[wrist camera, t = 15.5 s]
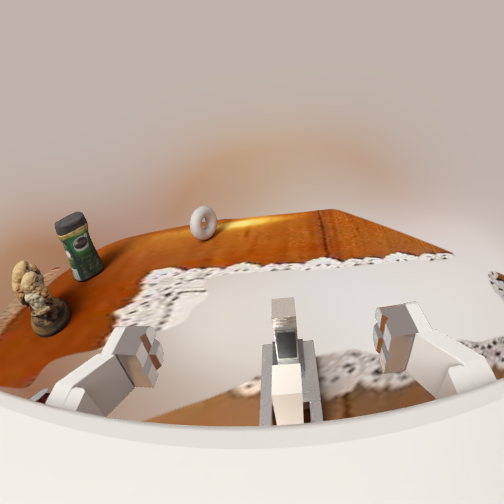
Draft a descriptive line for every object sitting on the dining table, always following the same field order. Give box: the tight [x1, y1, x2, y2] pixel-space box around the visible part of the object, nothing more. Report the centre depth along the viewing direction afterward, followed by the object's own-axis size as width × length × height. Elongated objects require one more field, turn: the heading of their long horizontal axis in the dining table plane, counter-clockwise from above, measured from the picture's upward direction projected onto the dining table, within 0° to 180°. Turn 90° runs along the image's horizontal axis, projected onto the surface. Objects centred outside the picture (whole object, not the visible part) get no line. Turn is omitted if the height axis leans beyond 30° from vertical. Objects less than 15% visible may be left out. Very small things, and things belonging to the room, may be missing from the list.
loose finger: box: [271, 363, 304, 425], centre depth 33 cm, size 5×3×12 cm, turn 177°
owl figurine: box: [12, 261, 70, 337], centre depth 61 cm, size 18×12×17 cm, turn 47°
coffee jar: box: [55, 212, 104, 281], centre depth 79 cm, size 10×8×19 cm
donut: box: [190, 206, 217, 240], centre depth 90 cm, size 10×4×10 cm, turn 147°
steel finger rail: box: [259, 297, 323, 426], centre depth 37 cm, size 20×8×12 cm, turn 177°
